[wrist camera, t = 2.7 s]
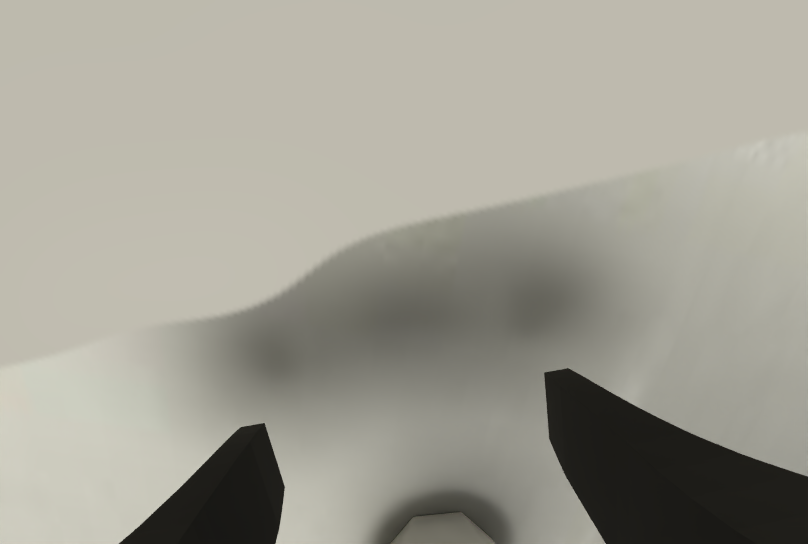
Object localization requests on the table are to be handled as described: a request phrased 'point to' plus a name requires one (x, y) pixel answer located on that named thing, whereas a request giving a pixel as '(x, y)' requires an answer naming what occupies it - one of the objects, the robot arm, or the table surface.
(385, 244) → the table surface
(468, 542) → the salt shaker
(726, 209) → the table surface
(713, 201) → the table surface
